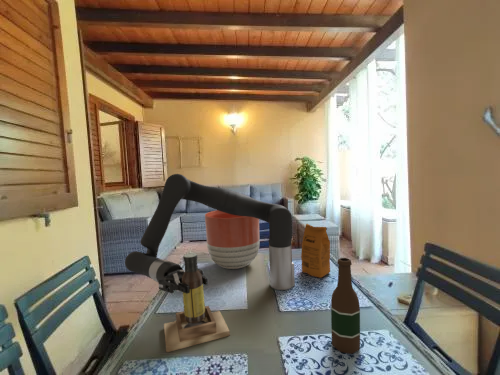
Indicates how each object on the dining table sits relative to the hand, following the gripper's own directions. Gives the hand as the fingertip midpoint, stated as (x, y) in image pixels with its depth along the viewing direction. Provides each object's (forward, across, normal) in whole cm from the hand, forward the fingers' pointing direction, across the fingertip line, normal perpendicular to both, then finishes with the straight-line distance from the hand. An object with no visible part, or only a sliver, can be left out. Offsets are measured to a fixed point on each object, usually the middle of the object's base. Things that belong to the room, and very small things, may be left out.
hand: (197, 285), depth 79 cm
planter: (-29, +47, +16) cm, 58 cm away
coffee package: (+8, +61, +15) cm, 64 cm away
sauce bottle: (-2, 0, +11) cm, 11 cm away
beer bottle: (+36, +21, +15) cm, 44 cm away
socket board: (-2, 0, +15) cm, 15 cm away
